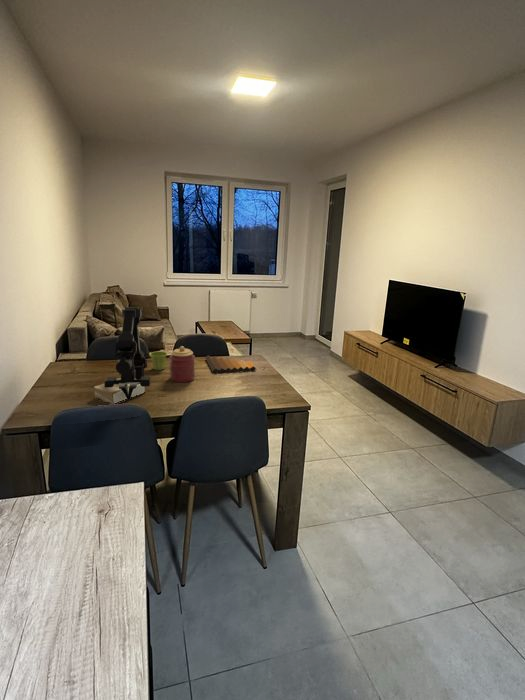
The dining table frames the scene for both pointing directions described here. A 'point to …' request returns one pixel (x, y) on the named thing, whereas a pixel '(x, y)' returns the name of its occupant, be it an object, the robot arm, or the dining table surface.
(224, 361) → the scalloped wooden trivet
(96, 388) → the cabinet
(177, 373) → the canister
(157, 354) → the plant pot
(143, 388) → the white flat slab piece
